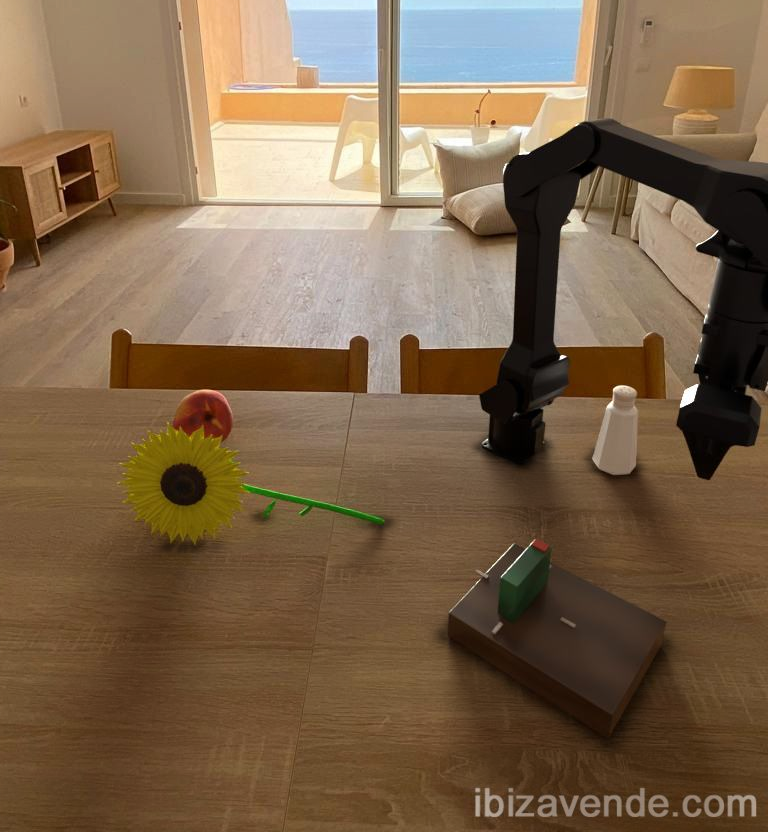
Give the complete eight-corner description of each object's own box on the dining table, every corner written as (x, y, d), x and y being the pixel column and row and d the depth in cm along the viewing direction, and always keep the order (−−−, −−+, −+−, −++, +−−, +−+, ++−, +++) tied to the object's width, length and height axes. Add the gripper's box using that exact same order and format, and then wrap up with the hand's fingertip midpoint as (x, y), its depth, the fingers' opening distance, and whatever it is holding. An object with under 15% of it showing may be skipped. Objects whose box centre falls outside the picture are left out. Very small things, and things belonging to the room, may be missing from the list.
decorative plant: (401, 460, 80) (145, 392, 77) (403, 483, 75) (127, 411, 72) (365, 568, 83) (118, 506, 81) (365, 598, 78) (100, 533, 75)
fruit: (175, 464, 91) (167, 412, 88) (177, 430, 98) (169, 381, 95) (236, 455, 93) (230, 404, 89) (234, 423, 100) (228, 374, 96)
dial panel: (607, 739, 57) (612, 713, 55) (440, 631, 66) (440, 606, 65) (661, 644, 65) (667, 619, 64) (505, 560, 75) (507, 537, 73)
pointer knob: (514, 623, 63) (517, 585, 61) (497, 613, 64) (500, 575, 63) (548, 582, 68) (552, 544, 66) (531, 573, 69) (535, 536, 67)
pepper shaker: (613, 480, 87) (625, 405, 82) (583, 458, 91) (593, 385, 87) (644, 468, 89) (658, 394, 85) (614, 446, 94) (625, 375, 89)
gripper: (852, 376, 52) (800, 538, 58) (842, 291, 66) (801, 428, 73) (692, 343, 56) (661, 496, 63) (716, 271, 71) (688, 401, 78)
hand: (709, 452), depth 69 cm, fingers open, 9 cm apart
